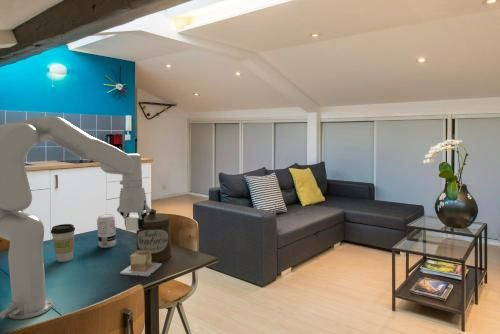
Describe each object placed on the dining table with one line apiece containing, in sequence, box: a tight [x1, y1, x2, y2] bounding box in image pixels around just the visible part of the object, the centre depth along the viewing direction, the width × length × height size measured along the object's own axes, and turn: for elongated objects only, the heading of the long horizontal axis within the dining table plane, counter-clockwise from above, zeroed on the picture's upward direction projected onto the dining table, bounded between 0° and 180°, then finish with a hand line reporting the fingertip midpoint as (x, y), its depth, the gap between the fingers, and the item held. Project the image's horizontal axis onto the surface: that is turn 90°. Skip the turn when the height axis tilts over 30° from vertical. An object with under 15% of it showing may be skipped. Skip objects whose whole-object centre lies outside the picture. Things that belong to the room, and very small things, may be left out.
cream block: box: [124, 214, 139, 232], centre depth 152 cm, size 5×5×5 cm
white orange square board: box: [120, 262, 163, 277], centre depth 153 cm, size 12×12×1 cm
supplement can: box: [96, 213, 117, 249], centre depth 184 cm, size 8×8×15 cm
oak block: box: [129, 250, 153, 271], centre depth 153 cm, size 6×6×6 cm
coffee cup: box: [50, 223, 76, 262], centre depth 166 cm, size 10×10×15 cm
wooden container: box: [136, 208, 172, 263], centre depth 167 cm, size 15×15×22 cm
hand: (134, 227), depth 152 cm, fingers closed on cream block, 5 cm apart
